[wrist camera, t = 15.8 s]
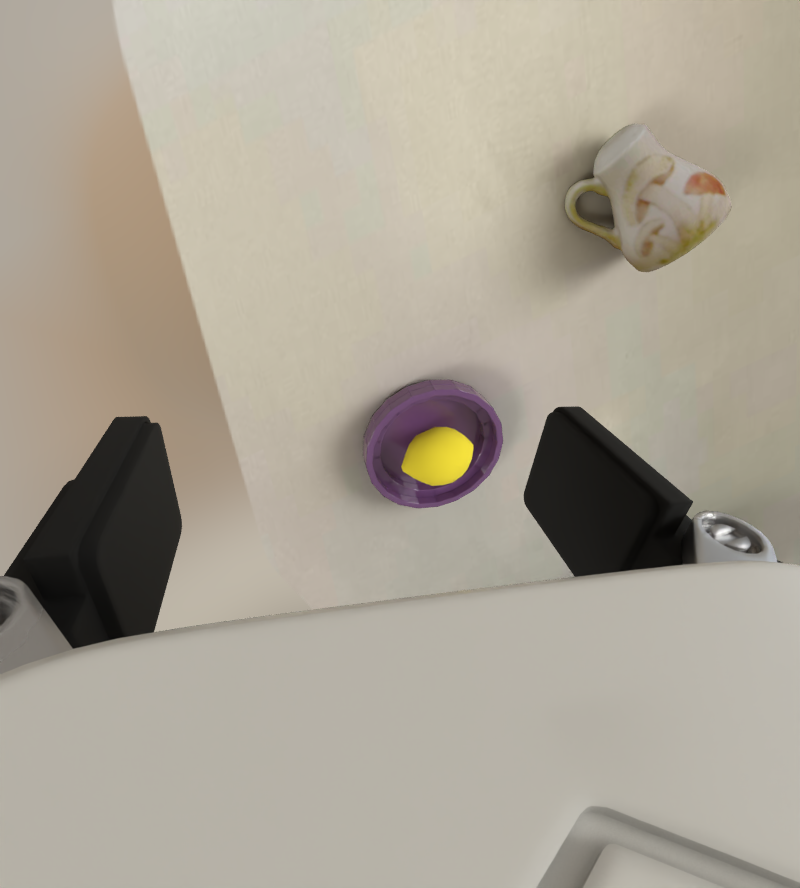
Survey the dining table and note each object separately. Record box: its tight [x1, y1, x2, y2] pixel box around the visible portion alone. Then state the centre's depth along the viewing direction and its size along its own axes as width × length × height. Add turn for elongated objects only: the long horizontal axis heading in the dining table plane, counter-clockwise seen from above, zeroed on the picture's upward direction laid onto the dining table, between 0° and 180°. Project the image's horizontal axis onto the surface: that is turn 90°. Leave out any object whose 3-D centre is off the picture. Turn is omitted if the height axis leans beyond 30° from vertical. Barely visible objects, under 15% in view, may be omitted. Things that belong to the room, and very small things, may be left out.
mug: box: [565, 124, 732, 272], centre depth 33 cm, size 8×10×10 cm
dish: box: [363, 380, 503, 508], centre depth 42 cm, size 13×13×3 cm
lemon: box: [401, 427, 473, 486], centre depth 41 cm, size 7×5×5 cm
